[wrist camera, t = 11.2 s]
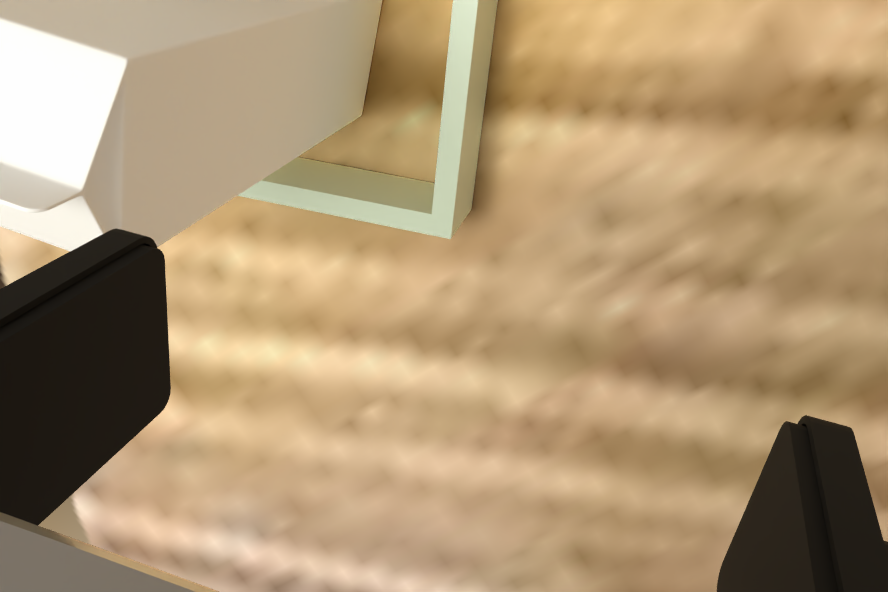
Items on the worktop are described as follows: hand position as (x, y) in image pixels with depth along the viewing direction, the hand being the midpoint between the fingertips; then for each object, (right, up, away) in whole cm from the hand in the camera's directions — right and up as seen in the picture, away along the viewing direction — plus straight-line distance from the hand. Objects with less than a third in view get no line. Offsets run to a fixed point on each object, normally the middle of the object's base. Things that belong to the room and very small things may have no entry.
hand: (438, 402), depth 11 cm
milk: (-6, +14, +26) cm, 30 cm away
